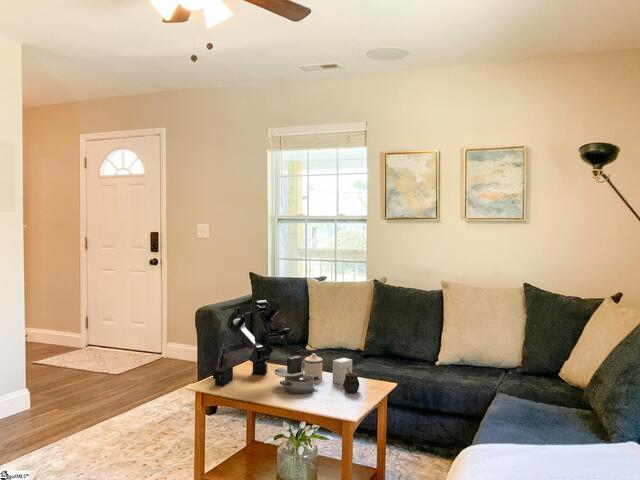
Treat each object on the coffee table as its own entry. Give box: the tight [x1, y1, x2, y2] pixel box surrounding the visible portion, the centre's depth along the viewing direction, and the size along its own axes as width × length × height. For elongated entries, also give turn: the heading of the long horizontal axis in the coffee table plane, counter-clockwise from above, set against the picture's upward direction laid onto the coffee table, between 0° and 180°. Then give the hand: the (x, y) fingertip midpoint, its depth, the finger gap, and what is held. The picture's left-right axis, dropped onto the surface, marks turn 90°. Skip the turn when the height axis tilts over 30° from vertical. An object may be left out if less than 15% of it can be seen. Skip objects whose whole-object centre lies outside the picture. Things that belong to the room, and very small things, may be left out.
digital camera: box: [212, 364, 234, 387], centre depth 254 cm, size 10×5×7 cm, turn 165°
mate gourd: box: [342, 368, 360, 394], centre depth 244 cm, size 7×8×10 cm
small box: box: [332, 357, 353, 386], centre depth 258 cm, size 8×6×10 cm
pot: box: [279, 373, 319, 396], centre depth 245 cm, size 13×19×6 cm
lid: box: [274, 355, 305, 378], centre depth 251 cm, size 13×13×8 cm
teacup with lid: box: [302, 353, 324, 381], centre depth 265 cm, size 12×9×12 cm
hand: (280, 351), depth 258 cm, fingers open, 9 cm apart
